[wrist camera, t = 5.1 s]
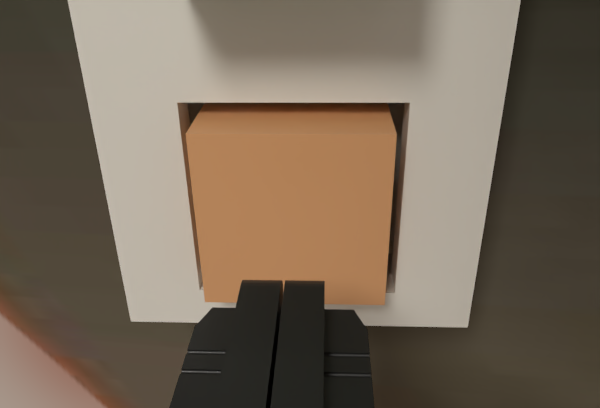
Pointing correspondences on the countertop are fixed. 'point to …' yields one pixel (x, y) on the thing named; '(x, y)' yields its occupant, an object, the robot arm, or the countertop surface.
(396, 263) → the white button panel
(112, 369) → the countertop surface
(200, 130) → the terracotta button
